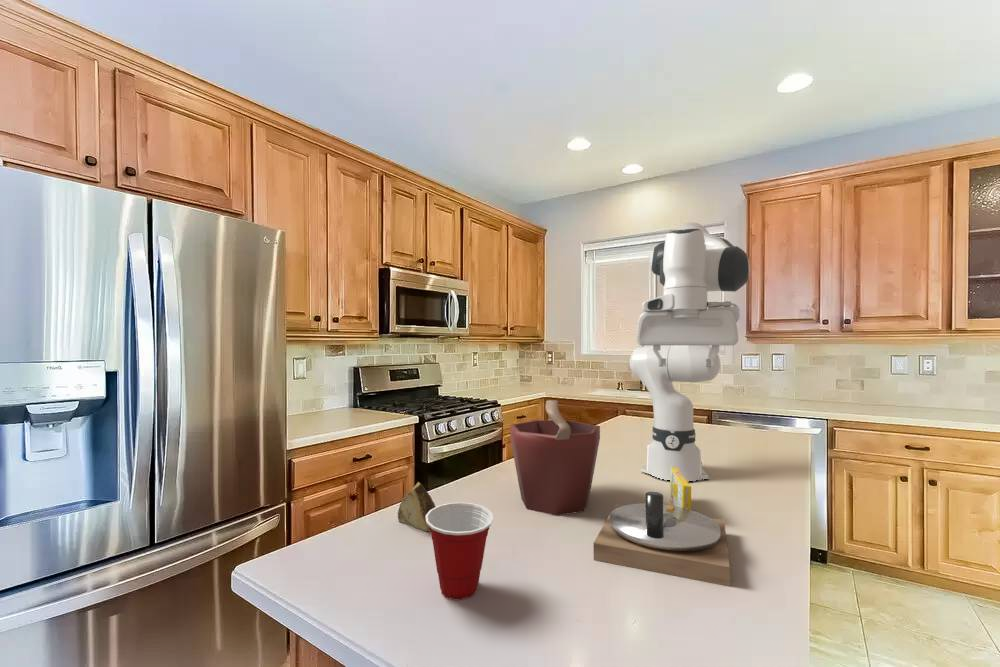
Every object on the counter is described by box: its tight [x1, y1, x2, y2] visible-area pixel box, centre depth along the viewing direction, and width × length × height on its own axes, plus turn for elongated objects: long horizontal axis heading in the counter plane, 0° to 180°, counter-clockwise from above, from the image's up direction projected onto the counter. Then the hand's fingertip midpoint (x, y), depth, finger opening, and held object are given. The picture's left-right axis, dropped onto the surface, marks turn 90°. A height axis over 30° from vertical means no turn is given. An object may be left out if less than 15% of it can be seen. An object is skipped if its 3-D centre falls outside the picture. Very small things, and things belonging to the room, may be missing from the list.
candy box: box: [669, 467, 692, 510], centre depth 107 cm, size 16×2×8 cm, turn 168°
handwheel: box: [609, 491, 720, 551], centre depth 88 cm, size 20×20×8 cm
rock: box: [397, 481, 436, 532], centre depth 99 cm, size 11×9×10 cm
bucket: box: [509, 399, 601, 516], centre depth 113 cm, size 24×22×25 cm
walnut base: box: [593, 504, 731, 587], centre depth 88 cm, size 22×22×3 cm
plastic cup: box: [426, 502, 494, 600], centre depth 72 cm, size 11×11×12 cm
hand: (685, 367), depth 98 cm, fingers open, 8 cm apart
